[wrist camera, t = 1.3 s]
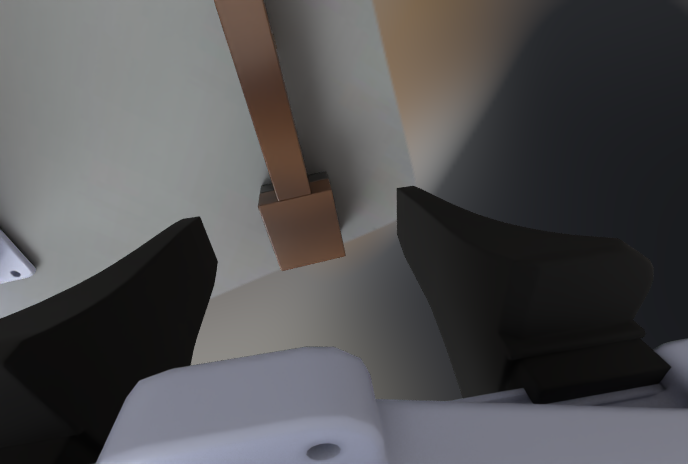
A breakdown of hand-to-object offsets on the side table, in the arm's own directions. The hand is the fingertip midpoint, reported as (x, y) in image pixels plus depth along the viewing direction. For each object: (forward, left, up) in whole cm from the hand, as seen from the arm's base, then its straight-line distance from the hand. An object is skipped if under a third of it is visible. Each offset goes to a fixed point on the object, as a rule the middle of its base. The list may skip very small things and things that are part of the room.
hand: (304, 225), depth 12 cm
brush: (-1, +1, -10) cm, 10 cm away
